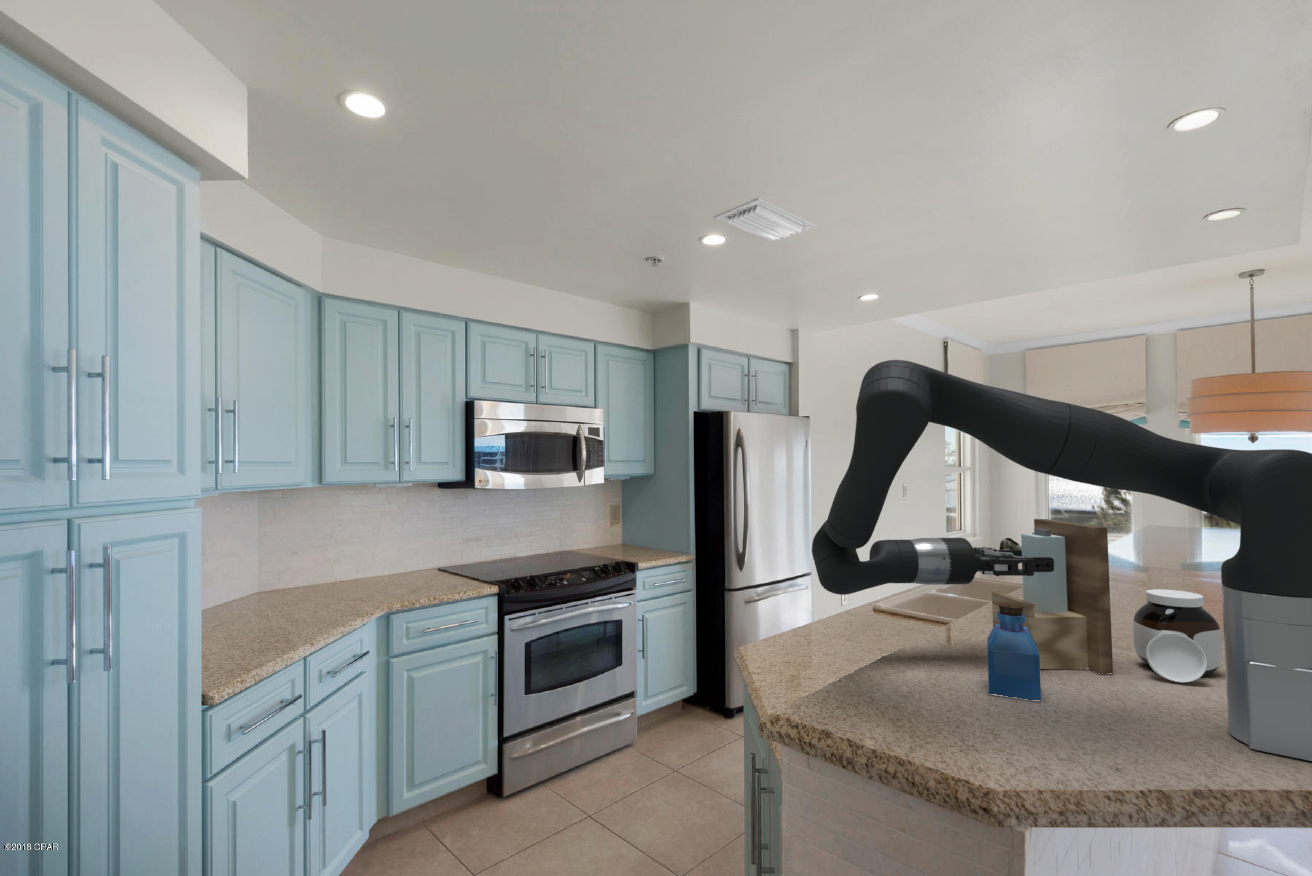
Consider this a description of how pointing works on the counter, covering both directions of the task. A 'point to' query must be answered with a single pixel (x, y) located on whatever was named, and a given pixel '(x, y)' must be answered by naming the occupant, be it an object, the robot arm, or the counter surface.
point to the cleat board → (1074, 604)
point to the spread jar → (1177, 636)
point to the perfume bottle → (1013, 656)
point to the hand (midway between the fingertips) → (1036, 560)
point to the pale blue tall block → (1046, 586)
